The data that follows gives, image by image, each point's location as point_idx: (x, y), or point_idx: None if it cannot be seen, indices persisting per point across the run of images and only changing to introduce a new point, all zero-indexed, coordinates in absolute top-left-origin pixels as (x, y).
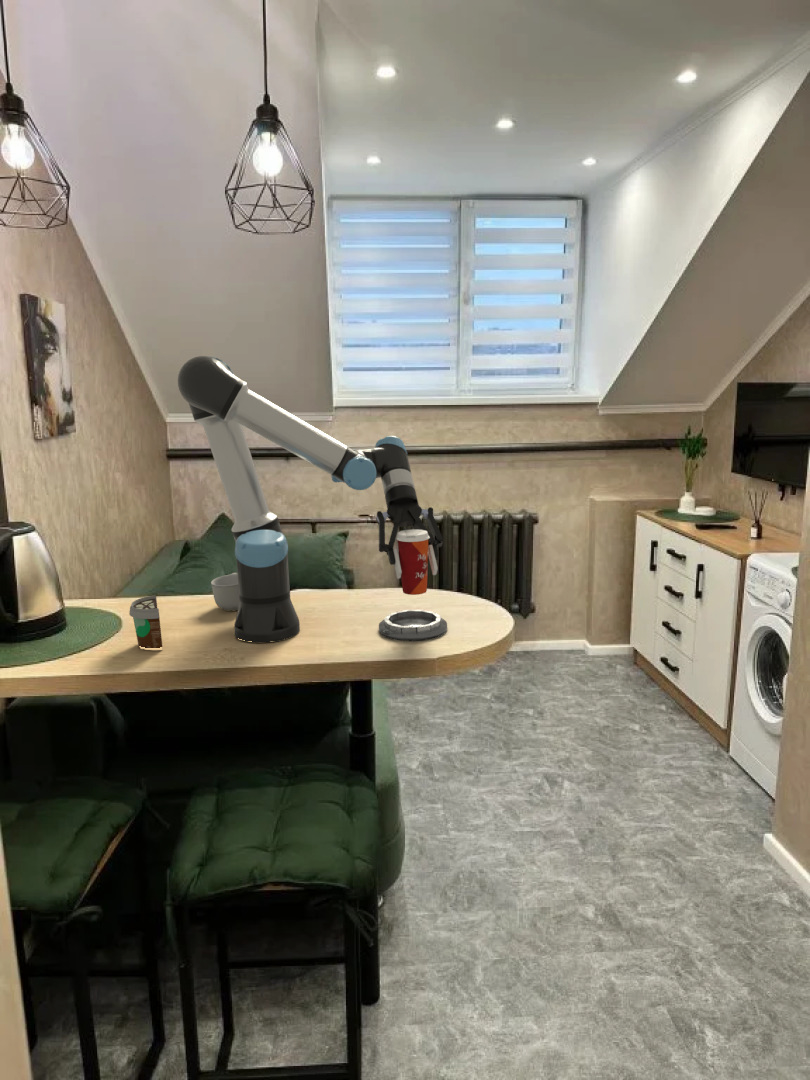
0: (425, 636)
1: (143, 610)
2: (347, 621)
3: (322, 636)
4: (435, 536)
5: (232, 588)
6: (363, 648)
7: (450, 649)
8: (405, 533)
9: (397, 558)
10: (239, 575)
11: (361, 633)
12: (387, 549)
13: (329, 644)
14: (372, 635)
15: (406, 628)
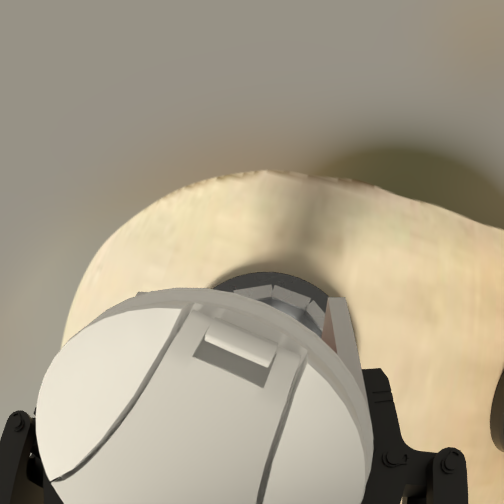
0: (255, 273)
1: None
2: None
3: (465, 362)
4: (35, 484)
5: None
6: (401, 265)
7: (219, 204)
8: (277, 476)
9: (348, 367)
10: None
11: (392, 366)
12: (407, 445)
13: (459, 308)
14: (371, 346)
15: (299, 294)
